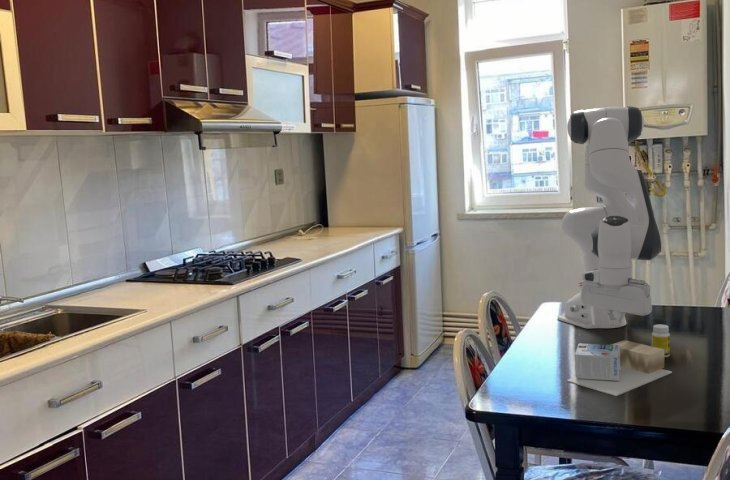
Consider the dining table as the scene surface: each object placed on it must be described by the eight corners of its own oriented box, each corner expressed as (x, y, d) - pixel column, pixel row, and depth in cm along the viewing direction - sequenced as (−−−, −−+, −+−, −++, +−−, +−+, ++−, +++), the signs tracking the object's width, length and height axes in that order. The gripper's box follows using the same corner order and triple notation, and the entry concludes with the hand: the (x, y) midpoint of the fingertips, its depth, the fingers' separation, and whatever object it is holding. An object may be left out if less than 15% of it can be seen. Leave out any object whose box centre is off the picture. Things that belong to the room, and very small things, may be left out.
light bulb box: (577, 342, 184) (620, 344, 180) (578, 366, 185) (620, 368, 181) (574, 354, 174) (619, 356, 170) (575, 379, 175) (620, 382, 171)
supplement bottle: (671, 357, 188) (671, 328, 187) (653, 357, 189) (653, 328, 188) (667, 352, 193) (667, 323, 192) (650, 352, 194) (650, 323, 193)
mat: (566, 381, 175) (566, 380, 175) (623, 360, 188) (623, 359, 188) (616, 396, 163) (616, 395, 163) (672, 372, 177) (672, 371, 177)
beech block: (608, 345, 185) (649, 355, 175) (624, 340, 189) (664, 349, 179) (608, 363, 186) (648, 373, 176) (624, 357, 190) (664, 367, 180)
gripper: (656, 279, 178) (656, 330, 180) (591, 270, 195) (591, 317, 197) (642, 283, 175) (642, 335, 176) (576, 273, 191) (577, 321, 193)
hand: (615, 325), depth 187 cm, fingers closed
